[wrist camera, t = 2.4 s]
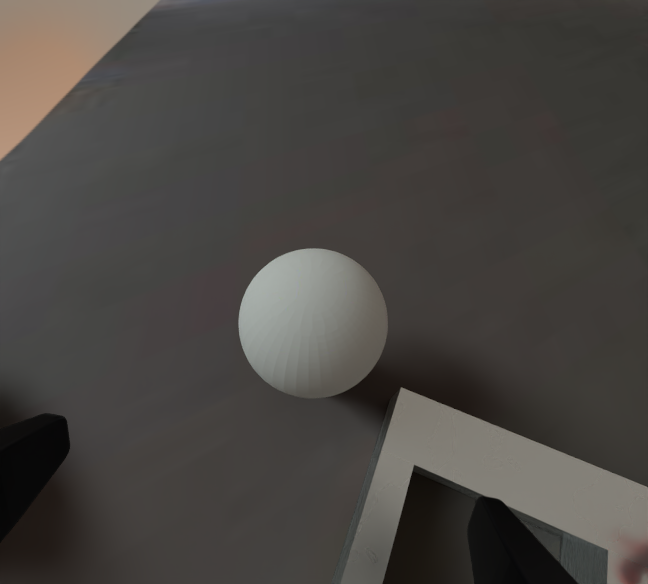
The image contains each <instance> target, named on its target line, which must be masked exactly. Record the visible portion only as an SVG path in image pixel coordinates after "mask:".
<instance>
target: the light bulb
mask: <svg viewBox="0 0 648 584" xmlns="http://www.w3.org/2000/svg"><path fill="white" fill-rule="evenodd" d="M387 330H388V317H387V310H386V305H385V302H384V299H383V295H382V293H381V291H380V289H379V287H378V285H377V284H376V282H375V281H374V279H373V278H372V277H371V275H370V274H369V273H368V272H367V271H366V270H365V269H364V268H363V267H362V266H361V265H359V264H358V263H357V262H355V261H354V260H352V259H350V258H349V257H347V256H345V255H342V254H340V253H337V252H334V251H330V250H326V249H302V250H296V251H293V252H290V253H287V254H284V255H282V256H280V257H278V258H276V259H275V260H273V261H272V262H270V263H269V264H267V265H266V266H265V267H264V268H263V269H262V270H261V271H260V272H259V273H258V274H257V275H256V276H255V277H254V279H253V280H252V282H251V283H250V285H249V287H248V288H247V290H246V293H245V295H244V297H243V300H242V303H241V307H240V312H239V335H240V340H241V344H242V347H243V350H244V353H245V355H246V357H247V359H248V361H249V363H250V364H251V366H252V367H253V368H254V370H255V371H256V372H257V373H258V374H259V375H260V376H261V377H262V378H263V379H264V381H266V382H267V383H269V384H270V385H271V386H273V387H274V388H276V389H278V390H280V391H282V392H284V393H286V394H289V395H293V396H296V397H301V398H310V399H311V398H325V397H330V396H334V395H337V394H340V393H342V392H345V391H347V390H348V389H350V388H352V387H354V386H355V385H356V384H358V383H359V382H360V381H361V380H363V379H364V378H365V377H366V376H367V375H368V374H369V372H370V371H371V370H372V369H373V368H374V366H375V364H376V363H377V361H378V359H379V358H380V356H381V353H382V351H383V348H384V346H385V342H386V337H387Z"/></svg>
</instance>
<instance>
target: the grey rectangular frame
mask: <svg viewBox="0 0 648 584" xmlns="http://www.w3.org/2000/svg"><path fill="white" fill-rule="evenodd" d="M412 471H414V472H416V473H418V474H420V475H423V476H425V477H427V478H429V479H432V480H434V481H436V482H438V483H441V484H443V485H445V486H447V487H449V488H452V489H454V490H456V491H458V492H461V493H463V494H465V495H467V496H470V497H472V498H474V499H476V500H477V498H478V497H479V496H487V497H492V498H497V499H500V500H501V501H503V502H504V503H505V504H506V505H507V507H508V508H509V509H510V510H511V511H512V512H513V513H514V514H515V515H516V516H517V517H518V518H519V519H521V520H523V521H526V522H528V523H530V524H532V525H535V526H537V527H539V528H541V529H544V530H546V531H548V532H550V533H553V534H555V535H557V536H559V537H562V547H561V559H560V564H561V565H562V566H563V567H564V568H565V569H566V571H567V572H568V573H569V574H570V575H571V576H572V577H573V578H574V579H575V580H576V581H577V582H578V584H648V487H646V486H643V485H641V484H638V483H636V482H634V481H631V480H629V479H626V478H624V477H621V476H619V475H616V474H614V473H611V472H609V471H606V470H604V469H601V468H599V467H597V466H594V465H592V464H589V463H587V462H584V461H582V460H579V459H577V458H574V457H572V456H569V455H567V454H564V453H562V452H560V451H557V450H555V449H552V448H550V447H547V446H545V445H542V444H540V443H537V442H535V441H532V440H530V439H527V438H525V437H523V436H520V435H518V434H515V433H513V432H510V431H508V430H505V429H503V428H500V427H498V426H495V425H493V424H490V423H488V422H486V421H483V420H481V419H478V418H476V417H473V416H471V415H468V414H466V413H463V412H461V411H458V410H456V409H453V408H451V407H449V406H446V405H444V404H441V403H439V402H436V401H434V400H431V399H429V398H426V397H424V396H421V395H419V394H416V393H414V392H412V391H409V390H407V389H404V388H402V387H401V388H400V389H399V390H398V391H397V392H396V393H395V394H394V395H393V397H392V398H391V399H390V402H389V405H388V408H387V411H386V414H385V417H384V420H383V424H382V427H381V430H380V433H379V436H378V439H377V442H376V446H375V449H374V452H373V455H372V458H371V461H370V464H369V467H368V471H367V474H366V477H365V480H364V483H363V486H362V489H361V493H360V496H359V499H358V502H357V505H356V508H355V511H354V515H353V518H352V521H351V524H350V527H349V530H348V533H347V536H346V540H345V543H344V546H343V549H342V552H341V555H340V558H339V562H338V565H337V568H336V571H335V574H334V577H333V580H332V584H383V580H384V576H385V572H386V569H387V565H388V561H389V557H390V553H391V550H392V546H393V542H394V538H395V535H396V531H397V527H398V523H399V520H400V516H401V512H402V508H403V505H404V501H405V497H406V493H407V489H408V486H409V482H410V478H411V474H412Z"/></svg>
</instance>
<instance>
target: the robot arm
mask: <svg viewBox="0 0 648 584" xmlns="http://www.w3.org/2000/svg"><path fill="white" fill-rule="evenodd" d="M69 449H70V440H69V432H68V425H67V420H66V419H65V417H63V416H60V415H55V414H50V413H45V414H41V415H38V416H35V417H33V418H30V419H27V420H24V421H21V422H19V423H16V424H13V425H10V426H7V427H5V428H2V429H0V542H1V541H2V540H3V539H4V538H5V536H6V535H7V534H8V533H9V532H10V530H11V529H12V528H13V527H14V526H15V524H16V523H17V522H18V520H19V519H20V518H21V517H22V515H23V514H24V513H25V511H26V510H27V509H28V507H29V506H30V505H31V503H32V502H33V501H34V499H35V498H36V497H37V495H38V494H39V493H40V491H41V490H42V489H43V487H44V486H45V485H46V483H47V482H48V481H49V479H50V478H51V477H52V475H53V474H54V473H55V471H56V470H57V469H58V467H59V466H60V465H61V463H62V462H63V461H64V459H65V458H66V456H67V454H68V452H69ZM467 535H468V543H469V550H470V556H471V563H472V570H473V576H474V583H475V584H578V582H577V581H576V580H575V579H574V578H573V577H572V576H571V575H570V574H569V573H568V572H567V571H566V569H565V568H564V567H563V566H562V565H561V564H560V563H559V562H558V561H557V560H556V559H555V558H554V556H553V555H552V554H551V553H550V552H549V551H548V550H547V549H546V548H545V547H544V546H543V545H542V543H541V542H540V541H539V540H538V539H537V538H536V537H535V536H534V535H533V534H532V533H531V532H530V530H529V529H528V528H527V527H526V526H525V525H524V524H523V523H522V522H521V521H520V520H519V519H518V517H517V516H516V515H515V514H514V513H513V512H512V511H511V510H510V509H509V508H508V507H507V505H506V504H505V503H504V502H503V501H501V500H500V499H497V498H492V497H487V496H479V497H478V498H477V500H476V502H475V505H474V508H473V511H472V514H471V517H470V520H469V523H468V529H467Z"/></svg>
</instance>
